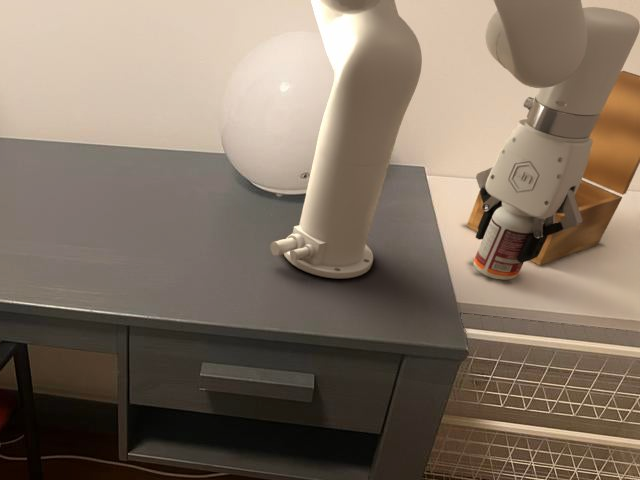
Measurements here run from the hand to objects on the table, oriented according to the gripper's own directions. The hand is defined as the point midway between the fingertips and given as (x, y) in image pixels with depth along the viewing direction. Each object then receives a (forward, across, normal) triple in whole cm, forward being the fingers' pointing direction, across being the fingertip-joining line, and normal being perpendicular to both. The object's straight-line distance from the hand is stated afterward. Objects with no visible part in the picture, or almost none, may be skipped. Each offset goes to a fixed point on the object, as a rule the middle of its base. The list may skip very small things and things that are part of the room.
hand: (504, 247), depth 103 cm
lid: (-12, -5, +21) cm, 25 cm away
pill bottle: (+4, 0, 0) cm, 4 cm away
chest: (+4, -5, +15) cm, 16 cm away
